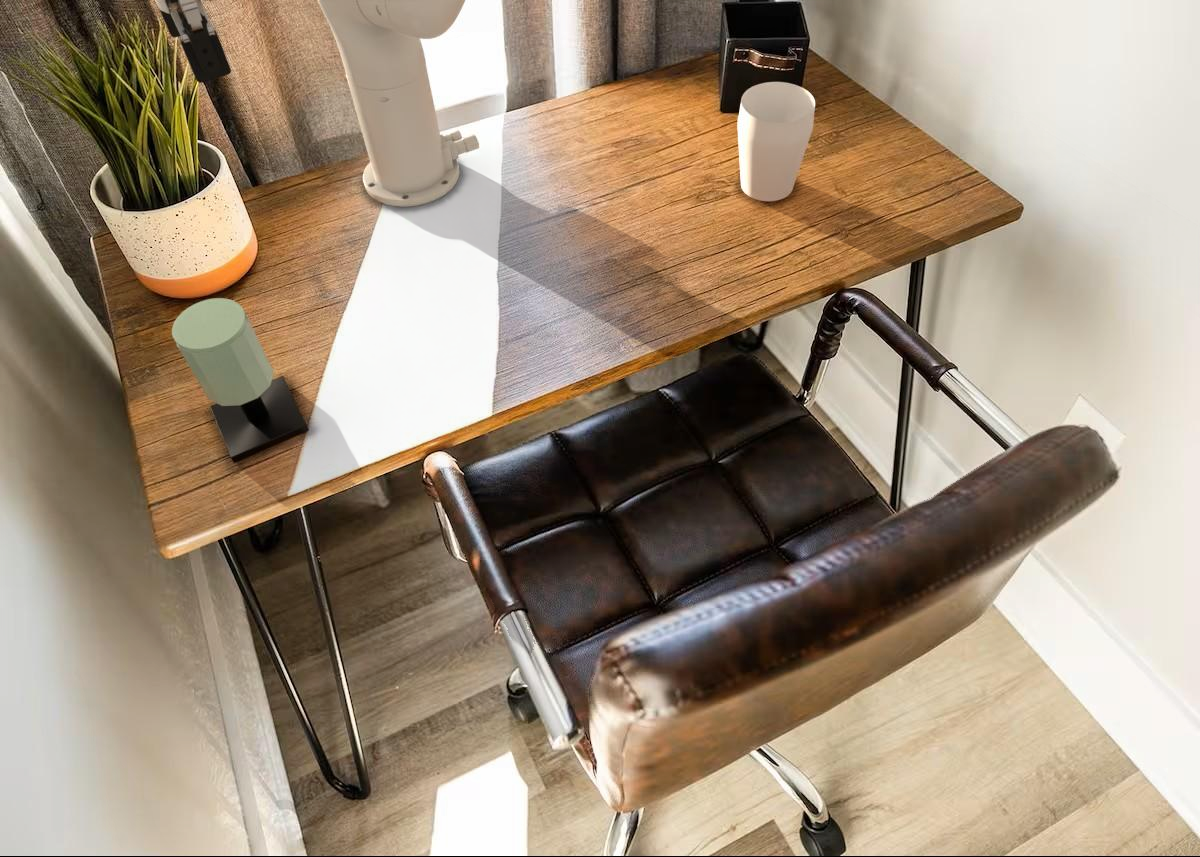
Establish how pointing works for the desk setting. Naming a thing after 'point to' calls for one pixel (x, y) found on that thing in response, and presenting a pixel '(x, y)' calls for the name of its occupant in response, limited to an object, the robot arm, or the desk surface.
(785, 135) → the cup
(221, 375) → the upturned cup
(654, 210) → the desk surface
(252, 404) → the peg
